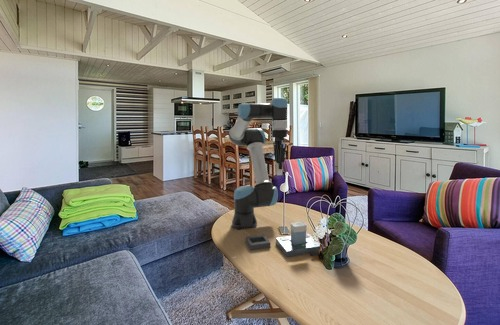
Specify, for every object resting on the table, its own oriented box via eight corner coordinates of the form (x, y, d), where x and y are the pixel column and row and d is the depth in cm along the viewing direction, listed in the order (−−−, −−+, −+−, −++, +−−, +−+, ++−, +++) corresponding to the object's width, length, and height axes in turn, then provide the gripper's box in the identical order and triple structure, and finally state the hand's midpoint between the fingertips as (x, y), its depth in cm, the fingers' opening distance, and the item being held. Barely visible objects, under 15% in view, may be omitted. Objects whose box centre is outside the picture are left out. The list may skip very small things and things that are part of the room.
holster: (245, 243, 133) (245, 236, 133) (264, 240, 136) (264, 234, 135) (250, 252, 124) (250, 245, 123) (270, 249, 126) (270, 242, 126)
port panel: (275, 245, 130) (275, 236, 130) (308, 240, 135) (308, 232, 134) (286, 259, 117) (286, 249, 116) (322, 253, 122) (322, 244, 121)
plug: (290, 246, 127) (290, 223, 125) (302, 244, 129) (302, 221, 127) (294, 250, 123) (294, 226, 121) (306, 248, 125) (306, 225, 123)
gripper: (268, 129, 136) (268, 173, 139) (277, 129, 123) (277, 178, 127) (281, 128, 137) (281, 172, 141) (291, 129, 125) (291, 177, 129)
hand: (279, 175), depth 134 cm, fingers closed
